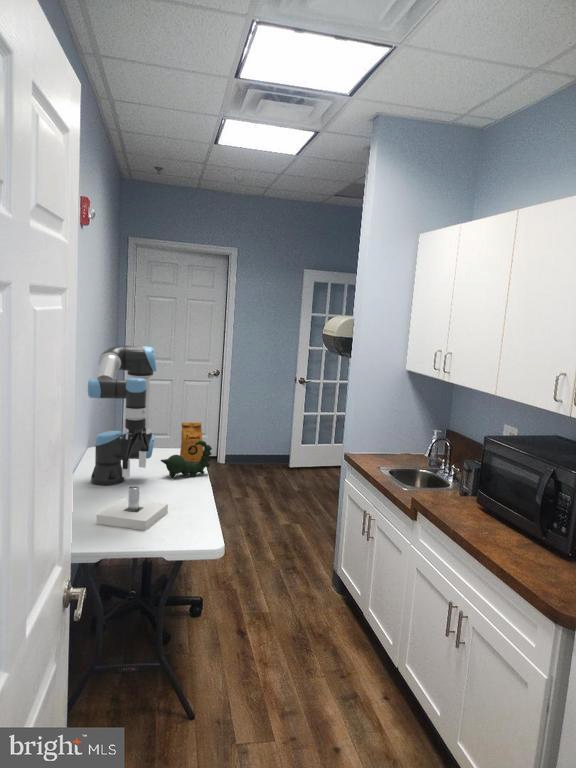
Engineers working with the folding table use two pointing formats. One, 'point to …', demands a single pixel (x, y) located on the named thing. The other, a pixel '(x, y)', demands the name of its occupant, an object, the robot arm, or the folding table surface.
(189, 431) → the coffee package
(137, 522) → the socket block
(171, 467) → the toy figurine
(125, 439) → the robot arm
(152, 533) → the folding table surface
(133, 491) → the steel pin
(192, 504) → the folding table surface
